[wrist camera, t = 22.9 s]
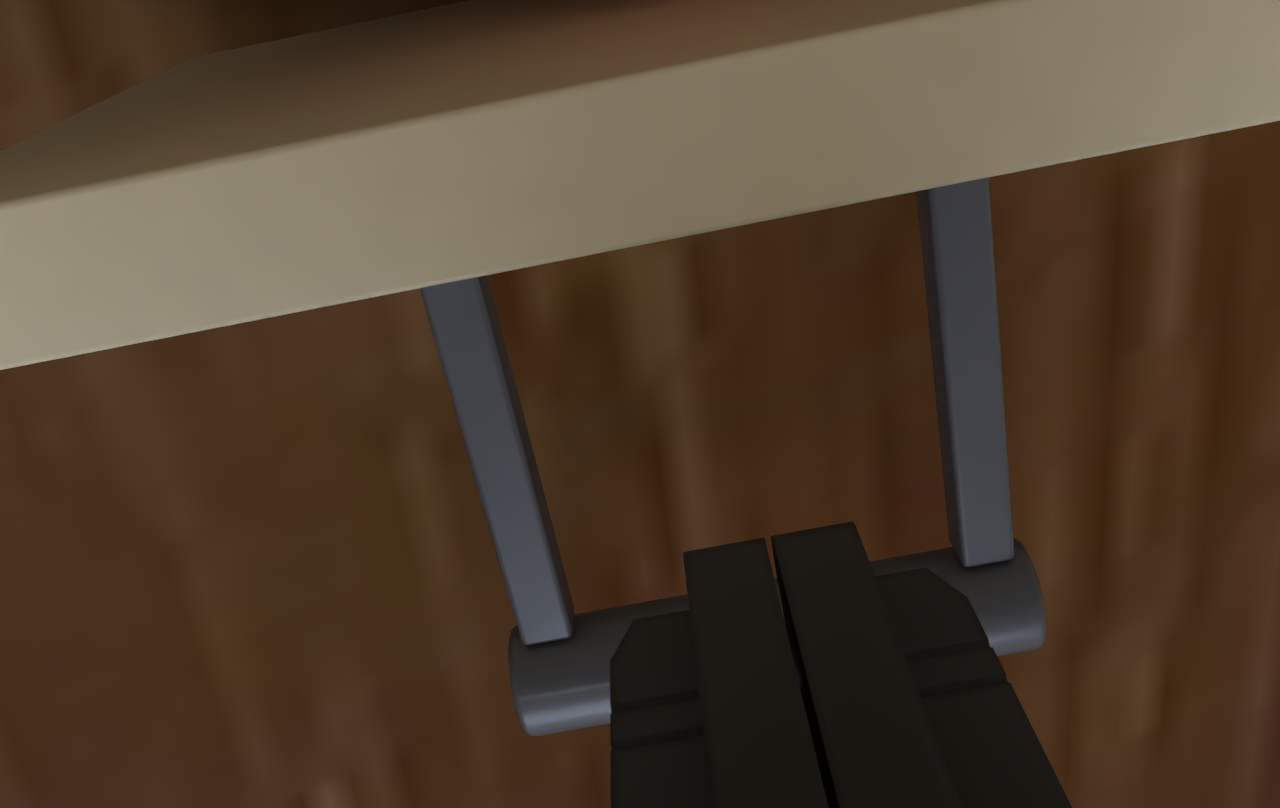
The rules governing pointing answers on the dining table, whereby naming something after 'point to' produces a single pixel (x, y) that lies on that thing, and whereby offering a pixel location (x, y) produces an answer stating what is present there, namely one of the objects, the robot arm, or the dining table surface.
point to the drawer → (604, 206)
